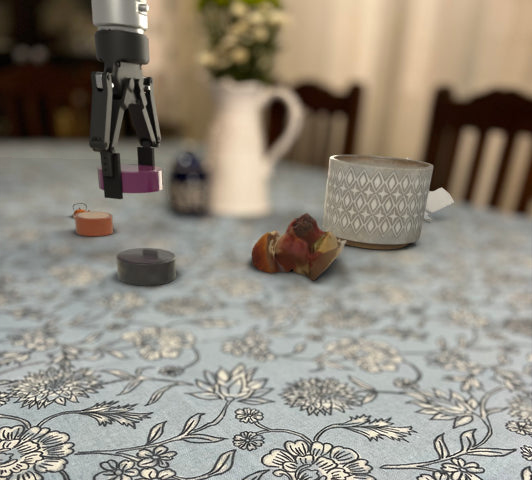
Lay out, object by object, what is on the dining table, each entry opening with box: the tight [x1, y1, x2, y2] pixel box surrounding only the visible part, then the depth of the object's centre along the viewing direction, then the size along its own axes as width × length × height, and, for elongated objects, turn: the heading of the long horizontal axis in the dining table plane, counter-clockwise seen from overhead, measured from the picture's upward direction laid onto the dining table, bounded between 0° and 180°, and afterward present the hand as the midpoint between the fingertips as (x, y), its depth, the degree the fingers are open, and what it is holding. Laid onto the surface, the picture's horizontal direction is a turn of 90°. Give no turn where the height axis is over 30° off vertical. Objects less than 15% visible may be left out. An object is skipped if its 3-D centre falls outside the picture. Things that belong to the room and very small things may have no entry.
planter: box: [322, 154, 434, 250], centre depth 97 cm, size 19×19×14 cm
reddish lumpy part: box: [251, 212, 346, 281], centre depth 82 cm, size 16×13×10 cm
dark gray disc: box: [115, 247, 177, 287], centre depth 72 cm, size 8×8×3 cm
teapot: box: [72, 202, 91, 219], centre depth 102 cm, size 3×3×3 cm
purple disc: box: [96, 163, 164, 194], centre depth 82 cm, size 10×10×3 cm
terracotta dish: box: [73, 211, 114, 237], centre depth 92 cm, size 6×6×3 cm
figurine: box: [405, 157, 455, 223], centre depth 120 cm, size 15×12×14 cm
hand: (131, 193), depth 83 cm, fingers closed on purple disc, 10 cm apart
